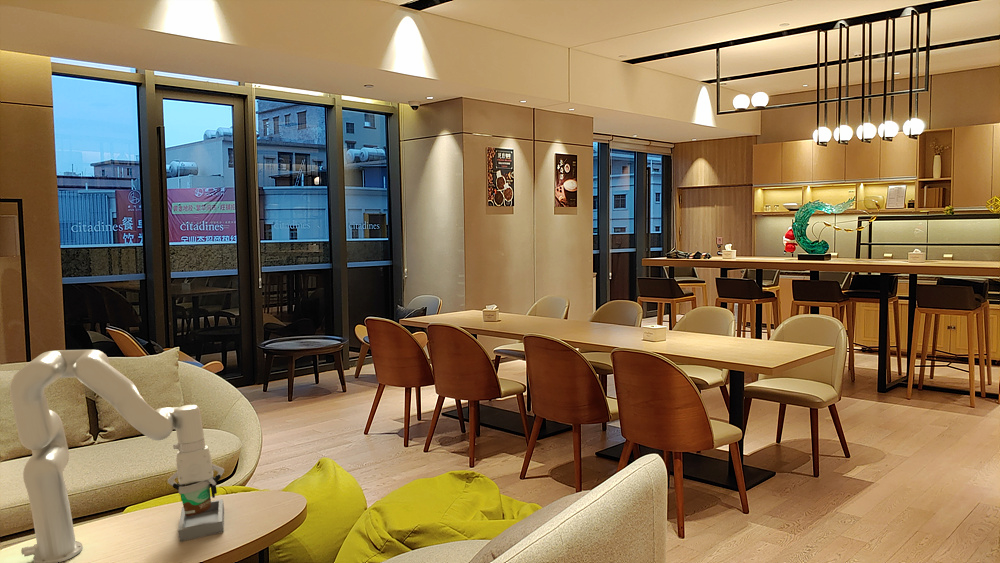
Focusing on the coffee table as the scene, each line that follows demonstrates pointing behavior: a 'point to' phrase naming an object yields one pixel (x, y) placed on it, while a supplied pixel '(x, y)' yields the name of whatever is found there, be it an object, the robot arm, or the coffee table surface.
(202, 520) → the tray
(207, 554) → the coffee table surface
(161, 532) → the coffee table surface
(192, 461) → the robot arm
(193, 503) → the food container
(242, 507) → the coffee table surface
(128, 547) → the coffee table surface
